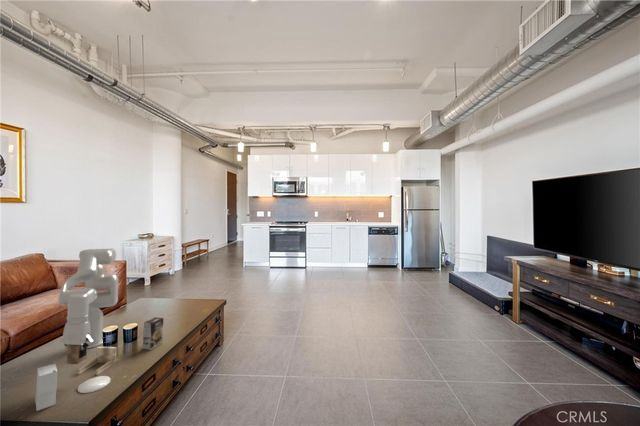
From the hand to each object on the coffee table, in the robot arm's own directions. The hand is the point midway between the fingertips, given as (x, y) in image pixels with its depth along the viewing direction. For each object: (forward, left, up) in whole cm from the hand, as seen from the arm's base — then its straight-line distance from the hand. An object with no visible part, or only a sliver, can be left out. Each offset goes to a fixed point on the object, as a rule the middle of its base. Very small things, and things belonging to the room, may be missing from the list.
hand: (77, 355), depth 130 cm
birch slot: (0, +11, -13) cm, 17 cm away
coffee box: (+14, +36, -13) cm, 41 cm away
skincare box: (0, -15, -13) cm, 20 cm away
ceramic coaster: (+10, -2, -13) cm, 16 cm away
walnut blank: (0, 0, -3) cm, 3 cm away
